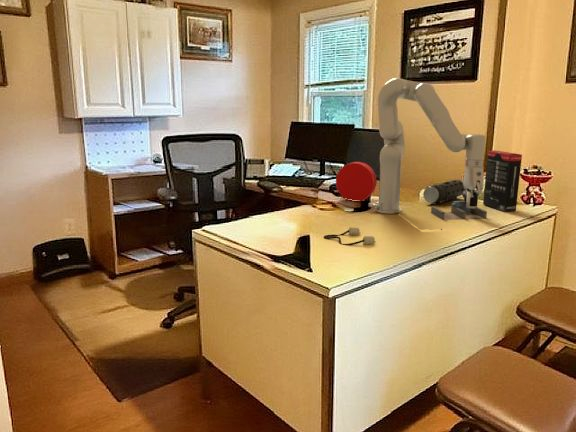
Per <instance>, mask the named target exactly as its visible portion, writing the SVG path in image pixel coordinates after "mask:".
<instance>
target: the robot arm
mask: <svg viewBox="0 0 576 432" xmlns="http://www.w3.org/2000/svg"><path fill="white" fill-rule="evenodd" d="M398 99H402V100H407V101H412V102H417V104H418V105H419V107H420V108H421V110H422V111H423V112H424V114H425V116H426V117H427V119H428V120H429V122H430V123H431V126H432V127H433V128H434V130H435V131H436V132H437V134H438V136H439V137H440V138H441V140H442V141H443V143H444V145H445V147H446V148H447V149H448V150H449V151H450V152H453V153H460V152H461V151H465V158H464V159H465V160H464V168H465V169H464V173H463V181H462V182H463V186H464V188H465V204H466V199H467V191H469V190H471V197H470V206H477V207H478V202H479V201H478V200H479V195H480V194H481V192H482V191H484V185H485V179H484V178H485V177H484V175H485V173H484V163H485V154H486V153H485V152H486V151H485V150H486V140H487V139H486V135H484V134H480V133H478V134H477V133H476V134H475V133H474V134H464V133H461V132H460V130H459V129H458V127H457V126H456V124H455V123H454V121H453V120H452V117H451V115H450V112H449V109H448V108H447V106H446V105H445V103H444V102H443V101H442V99H441V98H440V96H439V94H438V93H437V91H436V89H435V87H434V85H432V84H430V83H427V82H419V81H413V80H410V79H409V80H407V79H404V78H399V77H394V78H392V79H390V80H388V81H387V82H385V83H384V84H383V86H382V87H381V88H380V90H379V92H378V95H377V112H378V113H377V114H378V127H379V130H378V131H379V135H380V137H381V138H382V139H383V144H384V146H383V147H382V148H381V150H380V152H379V187H378V189H379V190H378V200H376V201H375V202H368V204H367V205H368V206H367V207H369V208H374V211H375V212H376V213H380V214H388V215H393V214H399V213H400V212H402V211H403V209H402V207H400V199H401V198H400V197H401V180H402V159H403V158H404V157H405V155H406V145H405V133H404V132H405V131H404V127H403V126H404V125H403V124H402V122H401V121H400V120H399V116H398V115H399V114H398V106H397V104H398V103H397V102H398ZM474 189H475V190H474ZM474 191H476V192H474Z"/></svg>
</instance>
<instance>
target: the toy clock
mask: <svg viewBox="0 0 576 432" xmlns="http://www.w3.org/2000/svg"><path fill="white" fill-rule="evenodd" d="M335 186H336V189H337V191H338V193H339V195H340V196H341V197H342V198H343V199H345V198H347V199H352V200H360V201H359V202H362V201H365V200H366V199H368V198H369V197H370V196H371V195H372V194H374V192H375V190H376V187H377V175H376V173H375V171H374V170H373V168H372V167H371V166H369V165H368V164H367V163H365V162H361V161H353V162H349V163H347V164H345V165H343V166H342V167H341V168H340V169H339V171H338V172H337V174H336V177H335Z"/></svg>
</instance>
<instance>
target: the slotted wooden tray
mask: <svg viewBox="0 0 576 432" xmlns="http://www.w3.org/2000/svg"><path fill="white" fill-rule="evenodd" d="M452 201H453V200H452ZM450 206H451V207H450V208H451V209H450V211H443V210H442V209H439V208H438V207H436V206H433V205H432V206H430V207H431V209H430V213H431V214H432V215H434V216H435V217H437V218H439V219H441V220H442V221H443V220H445V221H446V220H447V221H449V220H453V221H454V220H488V218H487V214H488V211H486V210H484V209H483V208H480V207H478V205H477V206H476V208H466V204H465V201H463V200H455V201H453V202H452V203H450Z"/></svg>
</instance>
